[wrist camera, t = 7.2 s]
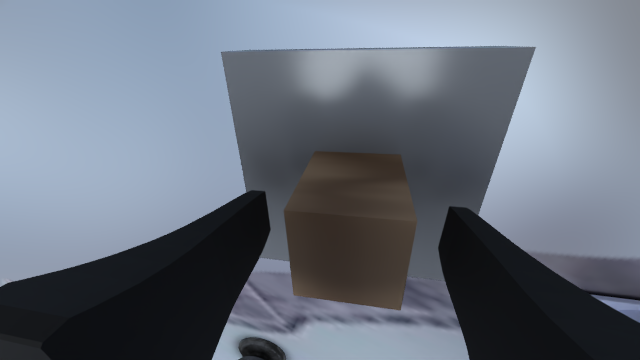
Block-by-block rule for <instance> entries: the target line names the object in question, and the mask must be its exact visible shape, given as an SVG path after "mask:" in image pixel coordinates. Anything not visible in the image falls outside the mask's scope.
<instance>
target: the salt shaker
mask: <svg viewBox="0 0 640 360" xmlns="http://www.w3.org/2000/svg"><path fill="white" fill-rule="evenodd" d="M239 351H240V353H241V354H242V356H243V357H242V358H240V359H239V360H286V356H285V354H284V352H283V351H282V350H281V349H280V348H279V347H278V346H277V345H275V344H274V343H272V342H270V341H267V340H264V339H260V338H245V339H243V340H242V341H241V342H240V343H239Z"/></svg>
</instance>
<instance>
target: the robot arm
mask: <svg viewBox="0 0 640 360" xmlns="http://www.w3.org/2000/svg"><path fill="white" fill-rule="evenodd" d="M270 231H271V228H270V220H269V213H268V206H267V199H266V192H265V191H257V190H251V191H249V192H247V193H245V194H243V195H241V196H239V197H237V198H236V199H234V200H232V201H230V202H229V203H227V204H225V205H223V206H221V207H220V208H218V209H216V210H214V211H213V212H211V213H209V214H207V215H205V216H203V217H202V218H199V219H198V220H196V221H194V222H192V223H190V224H188V225H186V226H184V227H182V228H180V229H178V230H175V231H173V232H171V233H169V234H167V235H164V236H162V237H160V238H157V239H155V240H152V241H150V242H147V243H145V244H142V245H139V246H137V247H134V248H131V249H128V250H126V251H123V252H120V253H117V254H114V255H111V256H108V257H105V258H102V259H98V260H95V261H92V262H89V263H85V264H82V265H79V266H75V267H71V268H67V269H64V270H60V271H56V272H52V273H48V274H44V275H40V276H36V277H32V278H27V279H23V280H19V281H15V282H10V283H7V284H5V285H3V286H1V287H0V360H212V358H213V355H214V352H215V350H216V347H217V345H218V342H219V340H220V337H221V335H222V332H223V330H224V327H225V325H226V323H227V320H228V318H229V316H230V313H231V311H232V308H233V306H234V304H235V302H236V300H237V298H238V296H239V294H240V293H241V291H242V289H243V287H244V285H245V283H246V282H247V280H248V278H249V276H250V274H251V272H252V271H253V269H254V267H255V265H256V263H257V261H258V259H259V257H260V256H261V254H262V252H263V250H264V247H265V244H266V242H267V239H268V236H269V233H270ZM438 251H439V257H440V263H441V267H442V272H443V276H444V279H445V282H446V285H447V288H448V291H449V294H450V297H451V300H452V303H453V306H454V309H455V312H456V315H457V318H458V321H459V324H460V327H461V330H462V333H463V336H464V339H465V343H466V346H467V350H468V355H469V359H470V360H640V301H639V300H631V299H623V298H615V297H607V296H599V295H591V294H588V293H587V292H585V291H583V290H582V289H580V288H579V287H577V286H575V285H574V284H572V283H570V282H569V281H567V280H566V279H564V278H562V277H561V276H559V275H558V274H556V273H555V272H553V271H552V270H550V269H549V268H547V267H546V266H545V265H543V264H542V263H540V262H539V261H537V260H536V259H535V258H533V257H532V256H530V255H529V254H528V253H526V252H525V251H523V250H522V249H521V248H519V247H518V246H517V245H515V244H514V243H512V242H511V241H510V240H509V239H507V238H506V237H505V236H503V235H502V234H501V233H500V232H498V231H497V230H496V229H495V228H493V227H492V226H491V225H490V224H488V223H487V222H486V221H484V220H483V219H482V218H481V217H479V216H478V215H477V214H475V213H474V212H473V211H471V210H470V209H468V208H466V207H454V206H449V209H448V212H447V216H446V220H445V223H444V227H443V231H442V235H441V238H440V242H439V246H438Z"/></svg>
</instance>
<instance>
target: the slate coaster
mask: <svg viewBox="0 0 640 360" xmlns="http://www.w3.org/2000/svg"><path fill="white" fill-rule="evenodd" d="M534 51H535V47H516V46H515V47H514V46H484V47H482V46H481V47H426V48H425V47H423V48H420V47H418V48H359V49H299V50H297V49H295V50H244V51H243V50H242V51H228V52H221V55H222V60H223V66H224V71H225V76H226V82H227V88H228V93H229V99H230V104H231V109H232V115H233V121H234V126H235V132H236V137H237V143H238V148H239V153H240V159H241V165H242V170H243V176H244V181H245V187H246V192H249V191H251V190H257V191H265V192H266V199H267V206H268V213H269V220H270V228H271V231H270V233H269V236H268V239H267V242H266V244H265V247H264V250H263V252H262V254H261V256H260V258H267V259H268V258H269V259H275V260H283V261H290V260H289V251H288V243H287V235H286V226H285V218H284V209H285V207H286V205H287V203H288V201H289V199H290V197H291V195H292V194H293V192H294V190H295V188H296V186H297V184H298V182H299V180H300V178H301V177H302V175H303V173H304V171H305V169H306V167H307V165H308V163H309V161H310V159H311V158H312V156H313V154H314V152H315V151H326V152H350V153H375V154H400V155H401V158H402V162H403V166H404V170H405V174H406V178H407V182H408V186H409V190H410V194H411V198H412V202H413V206H414V210H415V214H416V218H417V226H416V232H415V237H414V242H413V247H412V253H411V258H410V263H409V268H408V274H407V276H408V277H416V278H424V279H432V280H440V281H445V279H444V276H443V272H442V267H441V263H440V257H439V251H438V246H439V242H440V238H441V235H442V231H443V227H444V223H445V220H446V216H447V212H448V209H449V206H454V207H466V208H468V209H470V210H471V211H473V212H474V213H475V214H477V215H478V214H479V211H480V208H481V205H482V202H483V199H484V196H485V193H486V190H487V188H488V185H489V182H490V178H491V176H492V173H493V170H494V167H495V164H496V161H497V158H498V156H499V153H500V150H501V147H502V144H503V141H504V138H505V135H506V132H507V129H508V126H509V123H510V121H511V117H512V115H513V112H514V109H515V106H516V102H517V100H518V97H519V94H520V91H521V89H522V85H523V82H524V79H525V77H526V74H527V71H528V68H529V65H530V62H531V59H532V56H533V54H534Z"/></svg>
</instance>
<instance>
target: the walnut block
mask: <svg viewBox="0 0 640 360" xmlns="http://www.w3.org/2000/svg"><path fill="white" fill-rule="evenodd" d="M284 218H285V226H286V235H287V243H288V251H289V260H290V268H291V277H292V285H293V294H294V295H296V296H303V297H310V298H317V299H324V300H331V301H338V302H345V303H352V304H359V305H366V306H373V307H381V308H388V309H395V310H401V305H402V300H403V295H404V290H405V284H406V279H407V274H408V268H409V263H410V258H411V253H412V247H413V242H414V237H415V232H416V226H417V218H416V214H415V210H414V206H413V202H412V198H411V194H410V190H409V186H408V182H407V178H406V174H405V170H404V166H403V162H402V158H401V155H400V154H375V153H350V152H326V151H315V152H314V154H313V156H312V158H311V159H310V161H309V163H308V165H307V167H306V169H305V171H304V173H303V175H302V177H301V178H300V180H299V182H298V184H297V186H296V188H295V190H294V192H293V194H292V195H291V197H290V199H289V201H288V203H287V205H286V207H285V209H284Z"/></svg>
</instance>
